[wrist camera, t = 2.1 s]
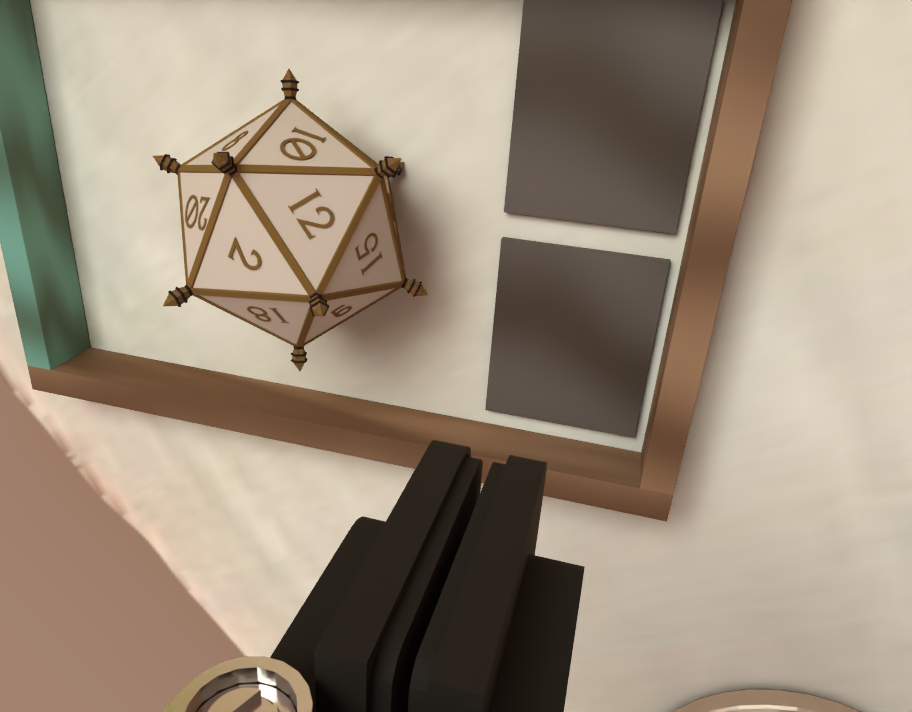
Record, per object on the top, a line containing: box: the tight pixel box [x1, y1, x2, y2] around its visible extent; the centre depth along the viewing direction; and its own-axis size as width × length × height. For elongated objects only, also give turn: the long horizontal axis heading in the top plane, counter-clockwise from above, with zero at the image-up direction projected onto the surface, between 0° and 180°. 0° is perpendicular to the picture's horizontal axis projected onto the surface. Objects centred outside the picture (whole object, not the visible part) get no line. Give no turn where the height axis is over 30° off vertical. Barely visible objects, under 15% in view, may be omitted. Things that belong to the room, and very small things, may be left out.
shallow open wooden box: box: [0, 0, 792, 521], centre depth 26 cm, size 19×28×2 cm
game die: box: [153, 69, 427, 371], centre depth 24 cm, size 9×8×10 cm
